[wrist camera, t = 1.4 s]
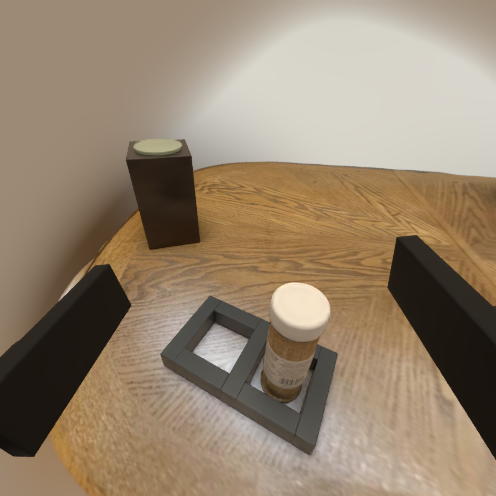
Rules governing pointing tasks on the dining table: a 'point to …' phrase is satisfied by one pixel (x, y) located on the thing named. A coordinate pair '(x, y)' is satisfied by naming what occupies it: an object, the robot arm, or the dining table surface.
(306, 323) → the sprinkles bottle
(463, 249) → the dining table surface
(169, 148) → the coaster
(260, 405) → the bottle rack
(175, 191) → the riser
